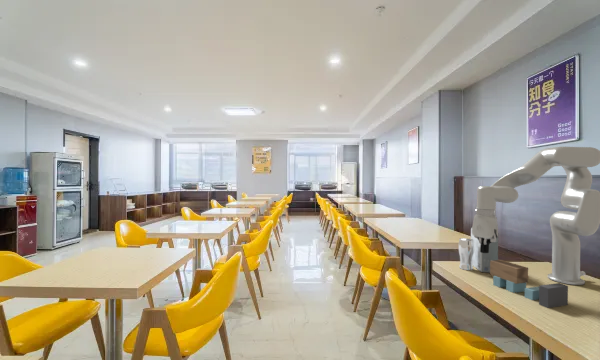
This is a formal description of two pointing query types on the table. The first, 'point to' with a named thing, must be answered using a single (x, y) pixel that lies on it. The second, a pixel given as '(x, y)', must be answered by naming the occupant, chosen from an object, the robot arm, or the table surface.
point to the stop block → (553, 295)
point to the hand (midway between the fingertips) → (484, 252)
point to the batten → (532, 293)
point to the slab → (509, 271)
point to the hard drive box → (484, 255)
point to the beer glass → (466, 253)
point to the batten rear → (499, 282)
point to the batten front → (515, 286)
